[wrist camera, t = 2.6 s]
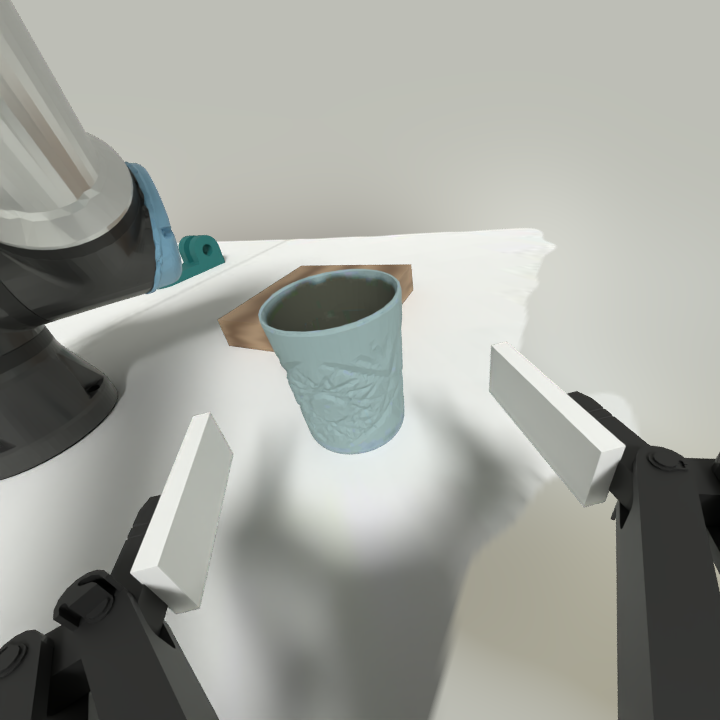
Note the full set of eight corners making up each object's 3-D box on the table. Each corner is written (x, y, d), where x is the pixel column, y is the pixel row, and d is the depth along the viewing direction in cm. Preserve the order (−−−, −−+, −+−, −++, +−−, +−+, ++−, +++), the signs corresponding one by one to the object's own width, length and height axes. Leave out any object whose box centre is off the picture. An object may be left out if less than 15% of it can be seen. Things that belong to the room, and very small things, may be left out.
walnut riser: (229, 345, 46) (217, 319, 44) (307, 287, 60) (301, 265, 58) (357, 362, 37) (350, 331, 35) (413, 289, 51) (411, 264, 49)
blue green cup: (374, 371, 35) (355, 259, 29) (440, 423, 28) (433, 288, 21) (286, 414, 32) (241, 299, 25) (333, 489, 24) (286, 350, 18)
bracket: (209, 262, 90) (197, 232, 86) (225, 262, 87) (213, 231, 82) (147, 289, 78) (128, 255, 74) (162, 291, 75) (144, 256, 70)
